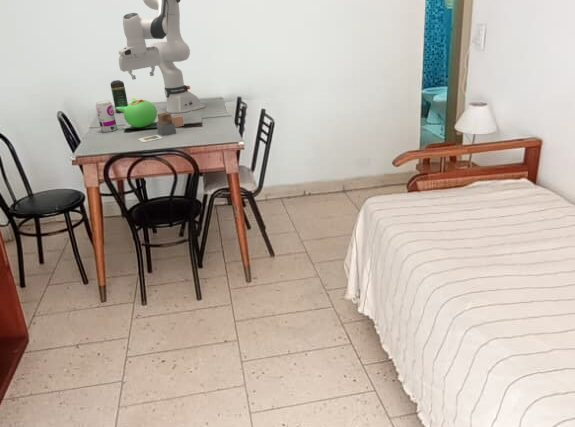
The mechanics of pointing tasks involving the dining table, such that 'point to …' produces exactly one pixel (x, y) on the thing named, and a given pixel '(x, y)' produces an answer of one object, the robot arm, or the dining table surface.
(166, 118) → the walnut cube
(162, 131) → the charcoal base block
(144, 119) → the toy bird
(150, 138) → the card
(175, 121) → the terracotta cube
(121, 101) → the coffee jar
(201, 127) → the dining table surface
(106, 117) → the supplement can
